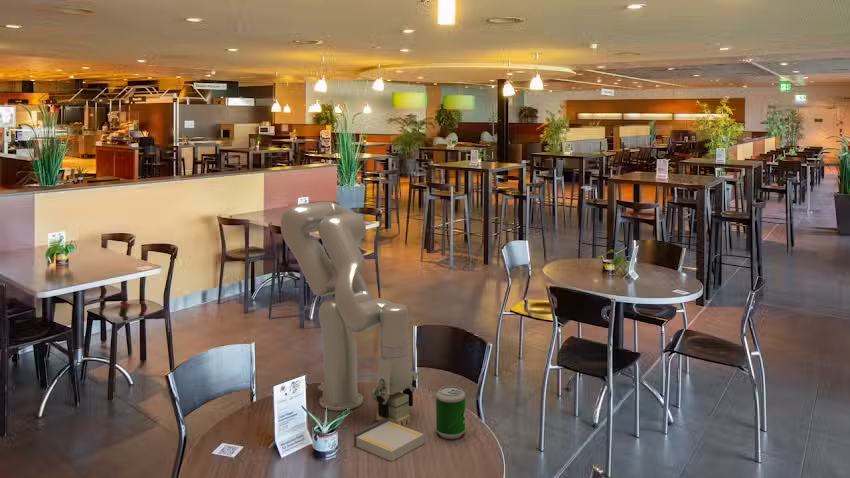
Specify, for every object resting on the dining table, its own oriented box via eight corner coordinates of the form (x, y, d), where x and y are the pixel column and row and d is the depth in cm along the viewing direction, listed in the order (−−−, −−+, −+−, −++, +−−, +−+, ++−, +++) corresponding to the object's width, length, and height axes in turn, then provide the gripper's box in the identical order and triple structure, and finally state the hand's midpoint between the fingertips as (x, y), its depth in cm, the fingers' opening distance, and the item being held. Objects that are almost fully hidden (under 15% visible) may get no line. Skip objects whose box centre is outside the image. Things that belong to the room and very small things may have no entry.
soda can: (462, 441, 170) (463, 397, 168) (433, 439, 172) (433, 394, 170) (467, 428, 178) (467, 385, 176) (439, 426, 179) (439, 383, 177)
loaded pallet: (376, 419, 183) (375, 393, 182) (389, 413, 187) (388, 388, 186) (398, 428, 178) (397, 401, 177) (410, 421, 182) (410, 395, 181)
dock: (354, 445, 168) (353, 433, 168) (386, 429, 178) (386, 417, 177) (391, 461, 160) (391, 448, 160) (423, 443, 170) (423, 431, 169)
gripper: (405, 339, 188) (406, 397, 191) (361, 355, 175) (363, 417, 178) (426, 344, 183) (427, 404, 186) (382, 361, 170) (383, 425, 173)
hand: (395, 410), depth 182 cm, fingers open, 9 cm apart
